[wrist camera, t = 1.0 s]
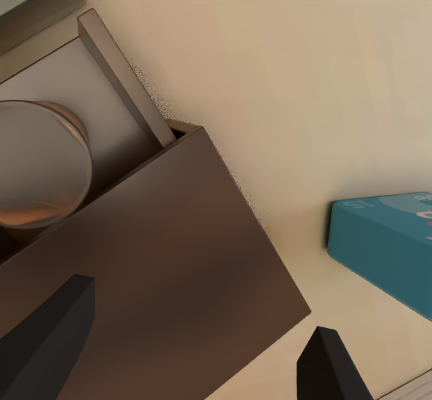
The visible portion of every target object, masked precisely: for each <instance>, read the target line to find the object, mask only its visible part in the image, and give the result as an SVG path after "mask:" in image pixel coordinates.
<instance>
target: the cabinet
mask: <svg viewBox="0 0 432 400" xmlns="http://www.w3.org/2000/svg"><path fill="white" fill-rule="evenodd" d="M165 121H166V123H167V124H168V126H169V127H170V129H171V131H172V132H173V134H174V135H175V137H176V138H177V141H175V142H174V143H172V144H171V145H169V146H168V147H166V148H165V149H163V150H162V151H160V152H159V153H158V154H156V155H155V156H153V157H152V158H150V159H149V160H147V161H146V162H144V163H143V164H141V165H140V166H138V167H137V168H135V169H134V170H133V171H131V172H130V173H128V174H127V175H125V176H124V177H122V178H121V179H119V180H118V181H116V182H115V183H113V184H112V185H111V186H109V187H108V188H106V189H105V190H103V191H102V192H100V193H99V194H97V195H96V196H94V197H93V198H91V199H90V200H88V201H87V202H86V203H84V204H83V205H81V206H80V207H78V208H77V209H76V210H75V211H74V212H72V213H71V214H70V215H69V216H67V217H66V218H64V219H62V220H61V221H58V222H56V223H55V224H53V225H52V226H50V227H49V228H47V229H46V230H44V231H43V232H41V233H40V234H38V235H37V236H36V237H34V238H33V239H31V240H30V241H28V242H27V243H25V244H24V245H22V246H21V247H19V248H18V249H16V250H15V251H14V252H12V253H11V254H9V255H8V256H6V257H5V258H3V259H2V260H0V339H1V338H2V337H3V336H4V335H6V334H7V333H8V332H10V331H11V330H12V329H13V328H14V327H16V326H17V325H18V324H19V323H20V322H22V321H23V320H24V319H25V318H26V317H27V316H29V315H30V314H31V313H32V312H33V311H34V310H36V309H37V308H38V307H39V306H40V305H41V304H42V303H44V302H45V301H46V300H47V299H48V298H49V297H50V296H51V295H52V294H53V293H55V292H56V291H57V290H58V289H59V288H60V287H61V286H62V285H63V284H64V283H65V282H66V281H67V280H68V279H69V278H70V277H71V276H72V275H74V274H80V275H85V276H89V277H94V278H95V320H94V323H93V325H92V328H91V330H90V333H89V335H88V338H87V340H86V343H85V345H84V347H83V350H82V352H81V354H80V356H79V358H78V360H77V361H76V363H75V365H74V367H73V369H72V371H71V373H70V375H69V377H68V379H67V380H66V382H65V384H64V386H63V388H62V390H61V392H60V394H59V395H58V397H57V399H56V400H204V399H206V398H207V397H208V396H209V395H211V394H212V393H213V392H214V391H216V390H217V389H218V388H219V387H220V386H222V385H223V384H224V383H225V382H227V381H228V380H229V379H230V378H231V377H233V376H234V375H235V374H236V373H238V372H239V371H240V370H241V369H243V368H244V367H245V366H246V365H247V364H249V363H250V362H251V361H252V360H254V359H255V358H256V357H257V356H258V355H260V354H261V353H262V352H263V351H265V350H266V349H267V348H268V347H270V346H271V345H272V344H273V343H274V342H276V341H277V340H278V339H279V338H281V337H282V336H283V335H284V334H285V333H287V332H288V331H289V330H290V329H292V328H293V327H294V326H295V325H297V324H298V323H299V322H300V321H301V320H303V319H304V318H305V317H306V316H308V315H309V314H310V313H311V312H312V311H311V310H310V308H309V306H308V304H307V303H306V301H305V299H304V298H303V296H302V294H301V293H300V291H299V289H298V287H297V286H296V284H295V282H294V281H293V279H292V277H291V275H290V274H289V272H288V270H287V269H286V267H285V265H284V264H283V262H282V260H281V258H280V257H279V255H278V253H277V252H276V250H275V248H274V246H273V245H272V243H271V241H270V240H269V238H268V236H267V235H266V233H265V231H264V229H263V228H262V226H261V224H260V223H259V221H258V219H257V217H256V216H255V214H254V212H253V211H252V209H251V207H250V206H249V204H248V202H247V200H246V199H245V197H244V195H243V194H242V192H241V190H240V188H239V187H238V185H237V183H236V182H235V180H234V178H233V176H232V175H231V173H230V171H229V170H228V168H227V166H226V165H225V163H224V161H223V159H222V158H221V156H220V154H219V153H218V151H217V149H216V147H215V146H214V144H213V142H212V141H211V139H210V137H209V136H208V134H207V132H206V130H205V129H204V127H203V126H197V125H193V124H189V123H185V122H180V121H176V120H172V119H166V120H165Z"/></svg>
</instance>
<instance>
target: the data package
mask: <svg viewBox="0 0 432 400" xmlns="http://www.w3.org/2000/svg"><path fill="white" fill-rule="evenodd" d="M327 252H328V254H329V256H330V257H331V258H333V259H334V260H336V261H337V262H339V263H340V264H342V265H344V266H345V267H347V268H348V269H350V270H351V271H353V272H354V273H356V274H358V275H359V276H361V277H362V278H364V279H365V280H367V281H368V282H370V283H372V284H373V285H375V286H376V287H378V288H379V289H381V290H382V291H384V292H386V293H387V294H389V295H390V296H392V297H393V298H395V299H396V300H398V301H399V302H401V303H403V304H404V305H406V306H407V307H409V308H410V309H412V310H413V311H415V312H417V313H418V314H420V315H421V316H423V317H424V318H426V319H428V320H429V321H431V322H432V193H411V194H401V195H391V196H381V197H371V198H361V199H351V200H341V201H337V202H335V203H334V204H333V206H332V214H331V223H330V232H329V241H328V250H327Z"/></svg>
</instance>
